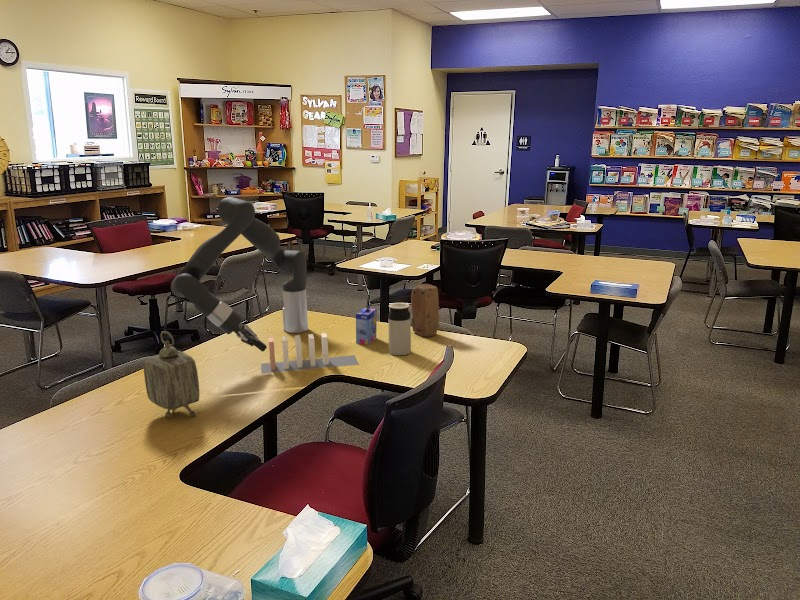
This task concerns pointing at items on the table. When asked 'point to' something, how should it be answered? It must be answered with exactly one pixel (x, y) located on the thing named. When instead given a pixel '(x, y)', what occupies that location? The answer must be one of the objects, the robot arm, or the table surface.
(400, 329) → the travel mug
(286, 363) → the domino
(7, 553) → the table surface
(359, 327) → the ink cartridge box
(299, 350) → the domino
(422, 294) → the block
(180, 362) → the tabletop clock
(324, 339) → the domino
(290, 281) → the robot arm
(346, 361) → the mat
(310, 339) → the domino
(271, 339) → the domino
